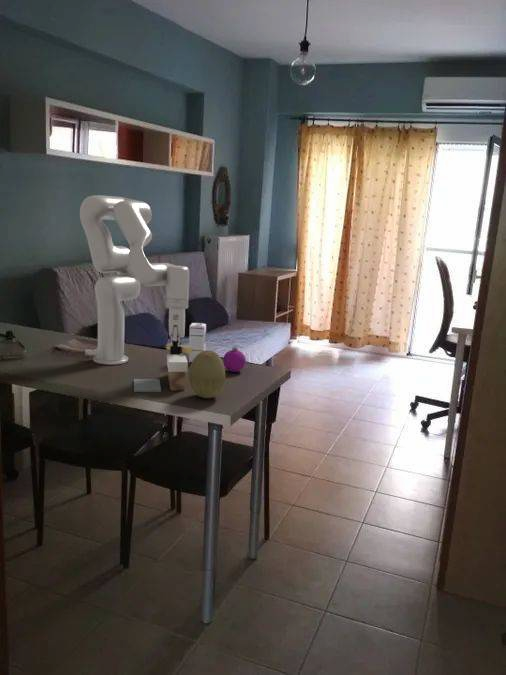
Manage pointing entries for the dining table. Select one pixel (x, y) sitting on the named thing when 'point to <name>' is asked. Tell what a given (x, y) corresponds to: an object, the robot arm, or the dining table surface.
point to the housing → (176, 380)
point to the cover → (177, 363)
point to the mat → (147, 385)
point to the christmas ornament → (234, 360)
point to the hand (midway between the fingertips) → (175, 355)
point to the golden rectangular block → (181, 348)
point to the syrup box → (197, 339)
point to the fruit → (207, 374)
